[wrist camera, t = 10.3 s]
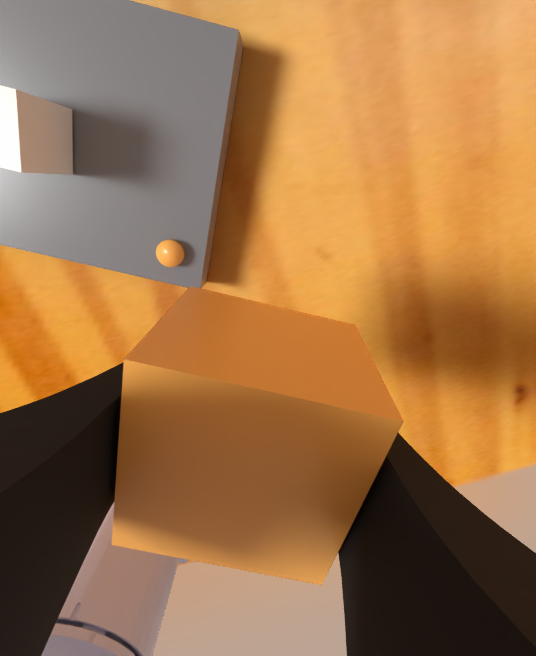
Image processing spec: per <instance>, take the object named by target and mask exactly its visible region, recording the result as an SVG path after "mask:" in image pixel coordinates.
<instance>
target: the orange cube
mask: <svg viewBox="0 0 536 656" xmlns="http://www.w3.org/2000/svg"><path fill="white" fill-rule="evenodd" d="M402 423H403V419H402V417H401V415H400V413H399V411H398V409H397V407H396V405H395V403H394V401H393V400H392V398H391V396H390V394H389V392H388V390H387V388H386V386H385V384H384V382H383V380H382V378H381V376H380V374H379V372H378V370H377V368H376V366H375V364H374V362H373V360H372V358H371V356H370V354H369V352H368V350H367V348H366V346H365V344H364V342H363V340H362V338H361V336H360V334H359V332H358V330H357V328H356V326H355V325H353V324H349V323H345V322H340V321H336V320H332V319H328V318H324V317H319V316H315V315H311V314H307V313H302V312H298V311H294V310H290V309H285V308H281V307H277V306H273V305H268V304H264V303H260V302H256V301H251V300H247V299H243V298H239V297H234V296H230V295H226V294H222V293H218V292H213V291H209V290H205V289H201V288H196V287H192V286H190V287H189V288H188V289H187V291H186V292H185V293H184V294H183V295H182V296H181V297H180V298H179V299H178V300H177V302H176V303H175V304H174V305H173V306H172V307H171V308H170V309H169V310H168V311H167V312H166V314H165V315H164V316H163V317H162V318H161V319H160V320H159V321H158V322H157V323H156V325H155V326H154V327H153V328H152V329H151V330H150V331H149V332H148V333H147V334H146V336H145V337H144V338H143V339H142V340H141V341H140V342H139V343H138V344H137V345H136V347H135V348H134V349H133V350H132V351H131V352H130V353H129V354H128V355H127V356H126V358H125V359H124V365H123V380H122V395H121V410H120V425H119V440H118V456H117V471H116V486H115V501H114V516H113V531H112V545H114V546H120V547H125V548H130V549H135V550H141V551H146V552H151V553H156V554H161V555H167V556H172V557H177V558H182V559H187V560H193V561H198V562H203V563H209V564H213V565H219V566H224V567H230V568H235V569H240V570H245V571H250V572H256V573H260V574H266V575H271V576H276V577H281V578H286V579H292V580H297V581H302V582H307V583H312V584H318V585H322V583H323V581H324V579H325V577H326V575H327V573H328V571H329V569H330V567H331V565H332V563H333V561H334V559H335V557H336V555H337V553H338V551H339V549H340V547H341V545H342V543H343V541H344V539H345V537H346V535H347V533H348V531H349V529H350V527H351V525H352V523H353V521H354V519H355V517H356V515H357V513H358V511H359V509H360V507H361V505H362V503H363V501H364V499H365V497H366V495H367V493H368V491H369V489H370V487H371V485H372V483H373V481H374V479H375V477H376V475H377V473H378V471H379V469H380V467H381V465H382V463H383V461H384V459H385V457H386V455H387V453H388V451H389V449H390V447H391V445H392V443H393V441H394V439H395V437H396V435H397V433H398V431H399V429H400V427H401V425H402Z"/></svg>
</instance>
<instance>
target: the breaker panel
mask: <svg viewBox="0 0 536 656" xmlns="http://www.w3.org/2000/svg"><path fill="white" fill-rule="evenodd" d="M242 51H243V43H242V39H241V36H240V32H239V30H237V29H233V28H230V27H226V26H222V25H219V24H215V23H211V22H207V21H204V20H200V19H196V18H193V17H189V16H185V15H182V14H178V13H174V12H171V11H167V10H163V9H160V8H156V7H152V6H148V5H145V4H141V3H137V2H134V1H130V0H0V85H1V86H5V87H9V88H13V89H17V90H19V91H22V92H25V93H28V94H31V95H33V96H36V97H39V98H42V99H45V100H48V101H50V102H53V103H56V104H59V105H62V106H64V107H67V108H70V109H72V139H73V175H65V174H43V173H21V172H17V171H13V170H9V169H5V168H0V245H4V246H8V247H12V248H17V249H21V250H26V251H30V252H34V253H39V254H43V255H47V256H52V257H56V258H60V259H65V260H69V261H74V262H78V263H82V264H87V265H91V266H95V267H100V268H104V269H108V270H113V271H117V272H122V273H126V274H130V275H135V276H139V277H143V278H148V279H152V280H156V281H161V282H165V283H169V284H174V285H178V286H183V287H187V288H189V287H190V286H192V287H196V288H202V287H203V286H204V284H205V283H206V281H207V275H208V268H209V262H210V256H211V249H212V243H213V236H214V230H215V224H216V217H217V211H218V205H219V198H220V192H221V185H222V179H223V173H224V166H225V160H226V153H227V147H228V141H229V134H230V128H231V122H232V115H233V109H234V102H235V96H236V90H237V83H238V77H239V71H240V64H241V58H242Z"/></svg>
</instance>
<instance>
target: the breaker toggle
mask: <svg viewBox="0 0 536 656" xmlns="http://www.w3.org/2000/svg"><path fill="white" fill-rule="evenodd" d="M0 168H5V169H9V170H13V171H17V172H21V173H43V174H65V175H73V139H72V109H70V108H67V107H64V106H62V105H59V104H56V103H53V102H50V101H48V100H45V99H42V98H39V97H36V96H33V95H31V94H28V93H25V92H22V91H19V90H17V89H13V88H9V87H5V86H1V85H0Z"/></svg>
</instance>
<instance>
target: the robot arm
mask: <svg viewBox="0 0 536 656" xmlns="http://www.w3.org/2000/svg"><path fill="white" fill-rule="evenodd" d="M123 365H124V362H123V363H121V364H119V365H117V366H115V367H113V368H111V369H109V370H107V371H105V372H103V373H101V374H99V375H97V376H95V377H93V378H91V379H88V380H86V381H84V382H82V383H79V384H77V385H75V386H72V387H70V388H68V389H66V390H63V391H61V392H59V393H56V394H54V395H51V396H49V397H46V398H43V399H41V400H38V401H35V402H32V403H30V404H27V405H24V406H21V407H18V408H15V409H12V410H9V411H6V412H3V413H0V656H153V652H154V648H155V645H156V641H157V637H158V634H159V630H160V626H161V623H162V620H163V616H164V612H165V609H166V605H167V602H168V597H169V594H170V590H171V587H172V583H173V580H174V576H175V572H176V569H177V565H178V563H182V564H183V563H186V562H187V561H188V560H187V559H182V558H177V557H172V556H167V555H161V554H156V553H151V552H146V551H141V550H135V549H130V548H125V547H120V546H114V545H112V531H113V516H114V501H115V486H116V471H117V456H118V440H119V425H120V410H121V395H122V380H123ZM338 553H339V560H340V568H341V576H342V588H343V601H344V613H345V629H346V646H347V656H536V553H535V552H533V551H532V550H531V549H529V548H528V547H527V546H525V545H524V544H522V543H521V542H520V541H519V540H517V539H516V538H515V537H513V536H512V535H511V534H509V533H508V532H507V531H505V530H504V529H503V528H501V527H500V526H499V525H498V524H496V523H495V522H494V521H493V520H491V519H490V518H489V517H488V516H486V515H485V514H484V513H483V512H481V511H480V510H479V509H478V508H477V507H476V506H474V505H473V504H472V503H471V502H470V501H469V500H467V499H466V498H465V497H464V496H463V495H461V494H460V493H459V492H458V491H457V490H456V489H455V488H453V487H452V486H451V485H450V484H449V483H448V482H447V481H446V480H445V479H444V478H443V477H442V476H440V475H439V474H438V473H437V472H436V471H435V470H434V469H433V468H432V467H431V466H430V465H429V464H428V463H427V462H426V461H425V460H424V459H423V458H422V457H421V456H420V455H419V454H418V453H417V452H416V451H415V450H414V449H413V448H412V447H411V446H410V445H409V444H408V443H407V442H406V441H405V440H404V438H403V437H402V436H401V435H400V434H399V433H397V435H396V437H395V439H394V441H393V443H392V445H391V447H390V449H389V451H388V453H387V455H386V457H385V459H384V461H383V463H382V465H381V467H380V469H379V471H378V473H377V475H376V477H375V479H374V481H373V483H372V485H371V487H370V489H369V491H368V493H367V495H366V497H365V499H364V501H363V503H362V505H361V507H360V509H359V511H358V513H357V515H356V517H355V519H354V521H353V523H352V525H351V527H350V529H349V531H348V533H347V535H346V537H345V539H344V541H343V543H342V545H341V547H340V549H339V551H338Z"/></svg>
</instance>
